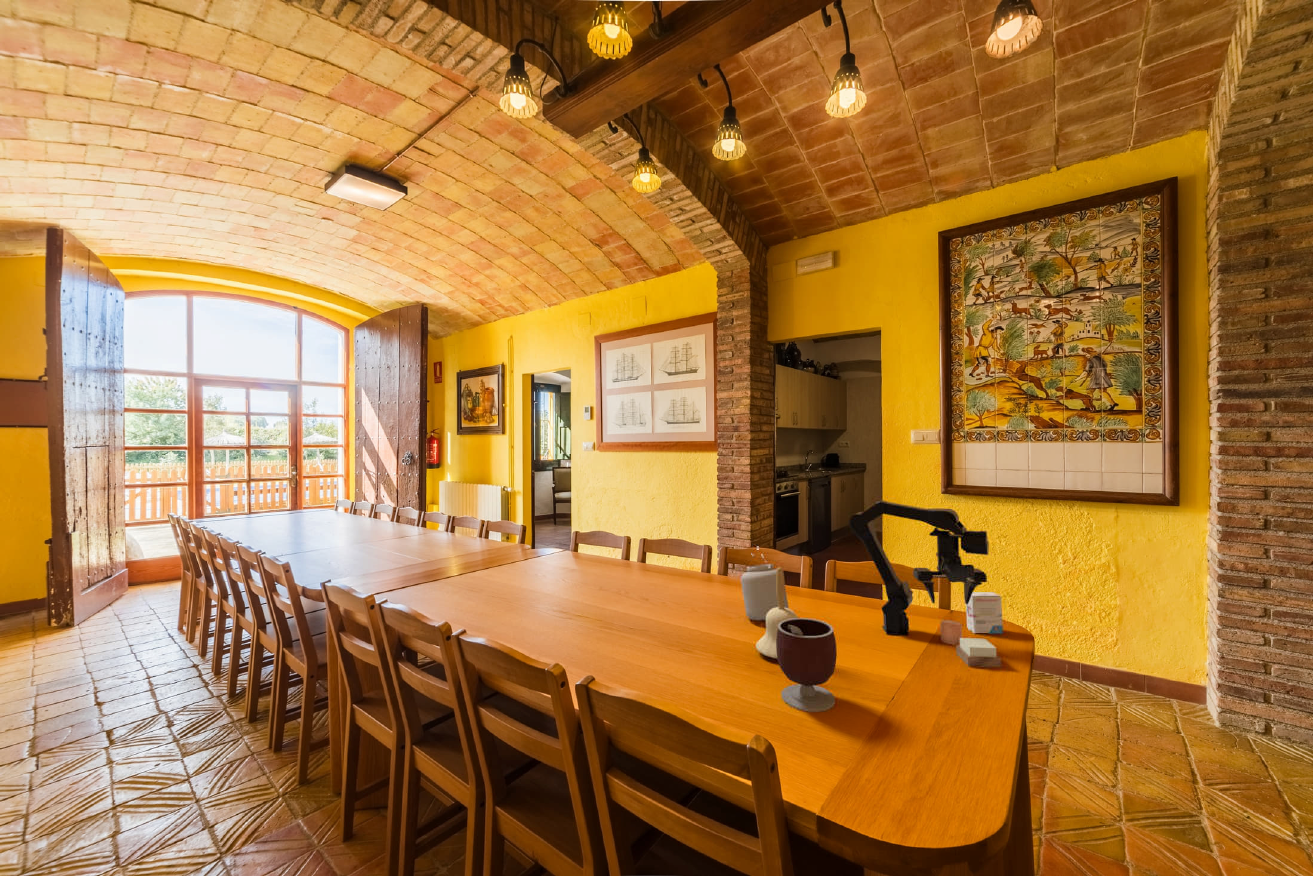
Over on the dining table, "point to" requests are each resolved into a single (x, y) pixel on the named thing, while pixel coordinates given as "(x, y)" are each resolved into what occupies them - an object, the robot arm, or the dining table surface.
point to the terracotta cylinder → (951, 632)
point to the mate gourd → (806, 662)
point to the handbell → (775, 619)
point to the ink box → (984, 613)
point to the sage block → (977, 647)
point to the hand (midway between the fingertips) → (949, 603)
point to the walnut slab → (978, 659)
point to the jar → (760, 591)
